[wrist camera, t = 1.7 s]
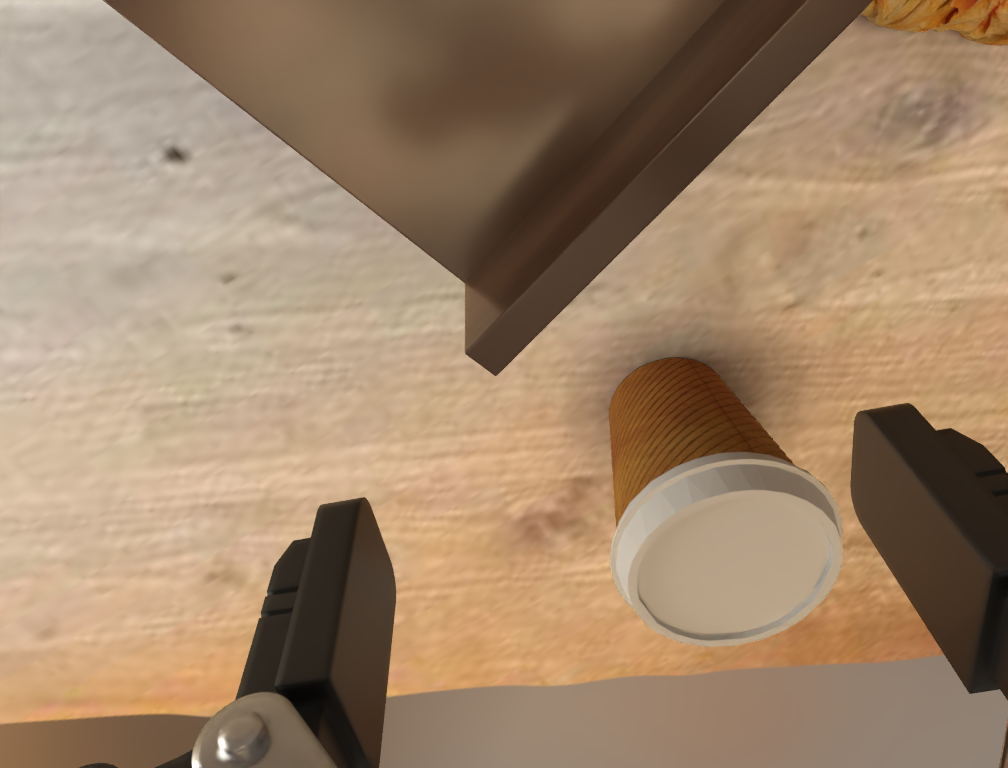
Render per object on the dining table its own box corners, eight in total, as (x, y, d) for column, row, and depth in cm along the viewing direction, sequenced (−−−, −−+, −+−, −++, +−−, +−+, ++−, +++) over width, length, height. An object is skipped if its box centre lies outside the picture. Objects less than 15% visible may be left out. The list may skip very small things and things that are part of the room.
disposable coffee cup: (670, 505, 45) (730, 683, 35) (541, 425, 42) (566, 594, 31) (795, 392, 41) (905, 553, 31) (665, 293, 38) (740, 437, 28)
